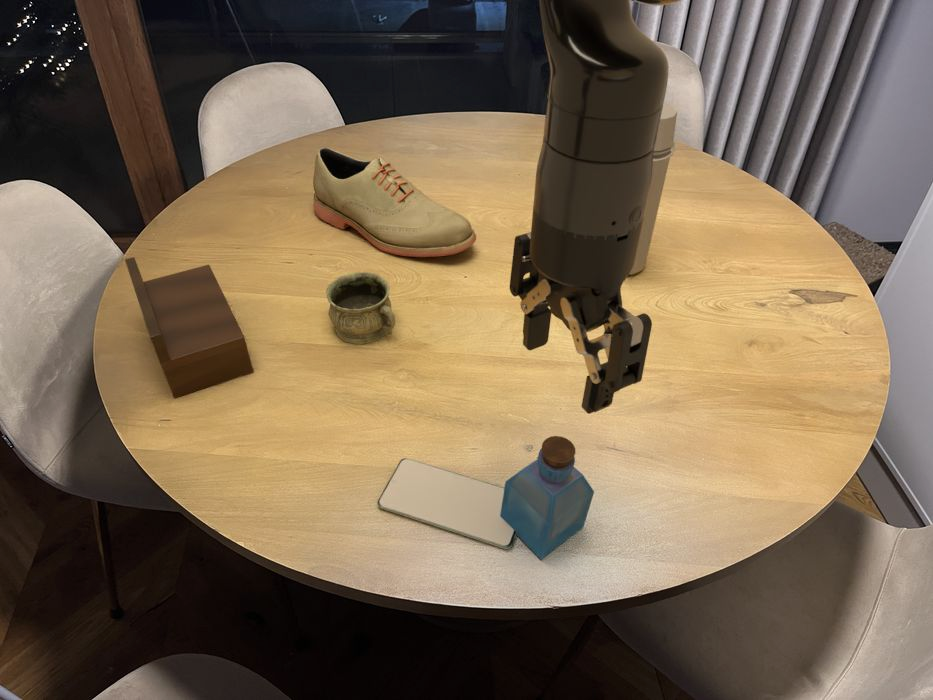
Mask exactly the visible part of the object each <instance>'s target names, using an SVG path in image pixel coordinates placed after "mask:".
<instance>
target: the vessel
mask: <svg viewBox="0 0 933 700" xmlns="http://www.w3.org/2000/svg"><path fill="white" fill-rule="evenodd" d="M325 292H326V299H327V301H328V303H329V307H328V317H329V320H330V322H331V324H332V325H333V326H334V327H335V332H336V334H337V337H338V338H340V339H341V340H342V341H344V342H347V343H349V344H350V343H351V344H357V345H358V344H359V345H365V344H369V343H373V342H376V341H379V340H380V339H382V338H383V337H384V336H385V335H386V336H392V333H393V332H392V331H393V329H394V328H395V326H396V317H395V315H394V313H393V311H392V302H391V300H390V297H389V295H390V284H389V282H388V280H387V279H386V278H384V277H383V276H381V275H380V274H377V273H373V272H367V271H366V272H365V271H358V272H352V273H347V274H343V275H341V276H339V277H337V278H335V279H333V281H331V283H329V284H328V286H327V287H326V291H325ZM389 322H390V323H389Z"/></svg>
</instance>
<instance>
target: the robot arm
mask: <svg viewBox="0 0 933 700" xmlns="http://www.w3.org/2000/svg"><path fill="white" fill-rule="evenodd" d="M631 1H632V2H635V3H638V4H642V5H646V6H652V7H653V6H654V7H657V6H666V5H671V4H672V5H673V4H676V3H678V2H681V1H682V0H538V5H539V13H540V19H541V20H540V21H541V26H542V35H543V40H544V45H545V50H546V54H547V60H548V61H547V62H548V66H549V67H548V68H549V77H548V78H549V79H548V85H547V92H546V93H547V94H546V104H545V114H544V115H545V116H544V126H543V135H542V142H541V143H542V144H541V147H540V152H539V157H538V160H537V165H536V173H535V182H534V195H533V204H532V205H533V206H532V215H531V216H532V217H531V227H530V231H529V232H526V233H523V234H519V235H516V236H515V237H514V242H513V243H514V244H513V251H512V260H511V269H510V278H509V291H510V294H511V295H512V296H513V297H519V298H520V300H521V301H520V304H519V305H520V309H521V311H522V313H523V326H522V335H523V336H522V337H523V338H522V345H523V346H524V347H525V348H526V349H527V351H533V350H535V349H536V350H537V349H538V348H541V347H543V346H545V345H547V343H548V342H549V336H550V328H551V321H552V315H553V316H554V317H555V318H557V319H558V320H560V321H562V323H563V324H564V325H565V327H566V328H567V330H568V331H570V333H571V334H570V335H571V337H572V340H573V343H574V347H575V351H576V353H577V354H578V355H582V356H583V358H584V362H585V366H586V369H587V373H588V375H587V376H586V379H585V385H584V390H583V396H582V400H581V408H582V409H583V410H584V412H586V414H588V415H589V414H593V413H597V412H599V411H601V410H605V409H607V408H609V407H610V406H611V405H612V404H613V400H614V395H615V394H616V393H617V392H619V391H620V390H622V389H625V388H627V387H630V386H632V385H637V384H638V383H640V382H641V381H642V380H643V375H644V370H645V363H646V358H647V352H648V347H649V342H650V337H651V333H652V328H653V327H652V326H653V321H652V319H651V317H650V316H649V315H648V313H641V314H637V315H634V314H632V313H631V312H629V311H628V310H627V309H626V308H624V307H623V299H622V285H623V284H624V282H625V280H626V279H627V278H628V276H629V275H628V274H629V273H630V271H631V270H632V268H633V265H634V261H635V257H636V252H637V247H638V242H639V238H640V233H641V228H642V223H643V219H644V214H645V209H646V205H647V200H648V195H649V191H650V186H651V180H652V168H653V154H654V147H655V143H656V138H657V133H658V128H659V123H660V119H661V114H662V109H663V103H665V99H666V92H667V88H668V80H669V68H670V67H669V61H668V57H667V55H666V53H665V52H664V50H662V48H661V47H660V46H658V45H657V44H656V43H655V42H654V41H653V40H652V39H651V38H650V37H649V36H647V35H646V34H645V33H644V32H643V31H642V30H641V29H640V28H639V27H638V25H637V24H636V22H635V20H634V18H633V14H632V7H631ZM526 275H529V276H528V277H525V276H526ZM524 277H525V278H524ZM602 326H603V328H604V331H603V333H602V335H600V336H597V337H595V338H592V339H589V337H588V333H589V332H591V331H594V330H597V329H599V328H600V327H602ZM602 350H604V351H605V355H606V359H607V361H605V362H603V363H601V361H600V357H599V352H600V351H602Z"/></svg>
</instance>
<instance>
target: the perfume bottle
mask: <svg viewBox="0 0 933 700" xmlns="http://www.w3.org/2000/svg"><path fill="white" fill-rule="evenodd" d="M576 454H577V453H576V447H575V445H574V443H573V442H572V441H571V440H569V439H568V438H567V437H564V436H560V435H553V436H549V437H547V438H545V439H544V440H543V441H542V443H541V448H540V449H539V452H538V453H537V459H535V460H534V461H532V462H531V463H529V464H527V465H526V466H525V467H523V468H522V469H521V470H519V471H518V472H517V473H515V474H514V475H513V476H511V477H510V478H508V479H507V480H506V481H505V483H504V487H503V488H504V494H503V501H502V507H501V513H500V517H501V518H502V519H504V520H505V521H506V522H507V523H508V524H509V525H510V526H511V527H512V528H513V529H514V530H515V531H516V532H517V534H516V536H517V537H518V538H519V539H520V540H521V541H522V542H523V543H524V544H525V545H526V546H527V547H528V548H529V549H530V550H531V551H532V553H534V555H536V557H537V558H539V560H543V559H544V558H546V557H547V556H548V555H549V554H551V553H552V552H553V551H555V550H557V548H559V547H560V546H561V545H562V544H564V543H565V542H566V541H567V540H569V539H570V538H572V537H573V536H574V535H576V534H577V533H578V532H579V531H580V530H582V529H583V528H584V526H585V524H586V520H587V516H588V513H589V510H590V507H591V504H592V501H593V498H594V495H595V491H594V488H592V486H591V484H590V483H589V482H588V480H587V479H586V477H585V475H584V474H583V473H582V472H581V471H580V470H579V469H577V468H576V467H575V463H576V457H575V455H576Z"/></svg>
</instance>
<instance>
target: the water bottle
mask: <svg viewBox="0 0 933 700" xmlns="http://www.w3.org/2000/svg"><path fill="white" fill-rule="evenodd" d="M677 116H678V111H677V109H676V107H674V106H673V105H671V104H668V103H666V102H664V103H663V109H662V114H661V119H660V123H659V128H658V133H657V138H656V143H655V147H654V154H653V168H652V180H651V186H650V191H649V195H648V200H647V205H646V209H645V214H644V219H643V223H642V228H641V233H640V238H639V242H638V247H637V252H636V257H635V261H634V265H633V268H632V270H631V271H630V273H629V274H628V276H631V275H635V274H637V273H640V272H641V271H643V270H644V269H645V266H646V264H647V261H648V256H649V252H650V249H651V243H652V239H653V238H652V237H653V234H654V231H655V230H654V229H655V226H656V221H657V216H658V211H659V207H660V203H661V198H662V195H663V190H664V185H665V182H666V177H667V172H668V168H669V164H670V160H671V157H673V155H674V153H675V152H676V142H675V132H676V125H677V124H676V123H677Z"/></svg>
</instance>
